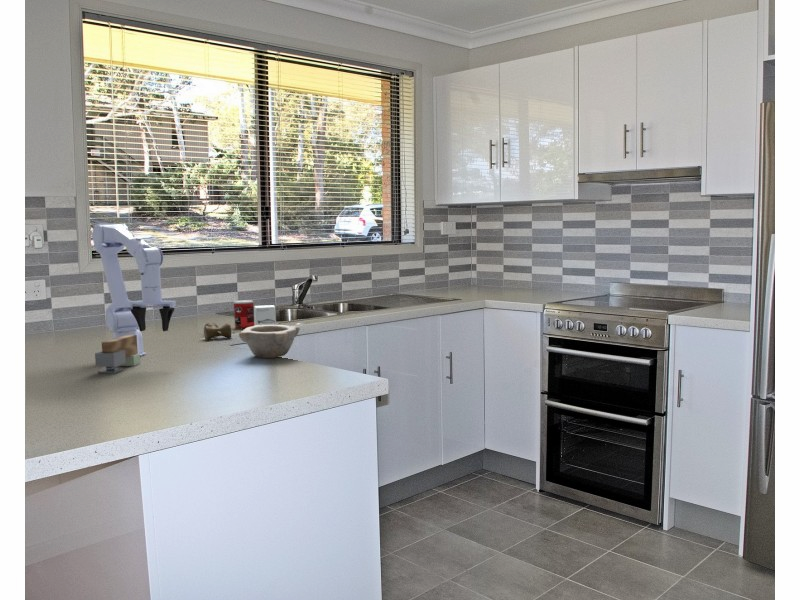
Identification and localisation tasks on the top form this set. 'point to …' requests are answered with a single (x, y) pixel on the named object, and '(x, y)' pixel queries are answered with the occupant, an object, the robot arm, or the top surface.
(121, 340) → the walnut rail
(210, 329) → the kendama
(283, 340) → the mortar
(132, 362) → the block
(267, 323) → the supplement box
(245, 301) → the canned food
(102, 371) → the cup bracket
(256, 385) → the top surface
